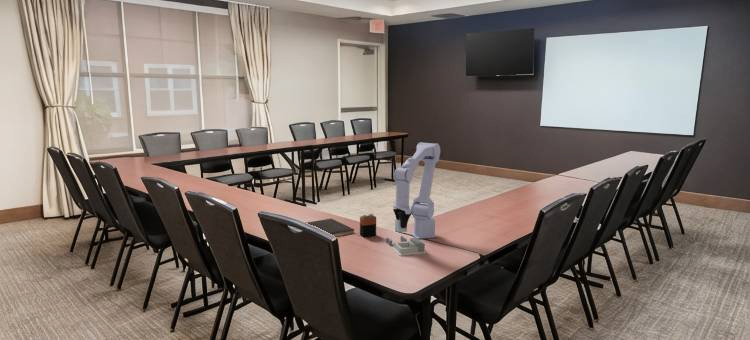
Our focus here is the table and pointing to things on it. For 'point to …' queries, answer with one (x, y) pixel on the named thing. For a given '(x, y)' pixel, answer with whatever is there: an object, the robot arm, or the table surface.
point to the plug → (399, 226)
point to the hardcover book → (332, 227)
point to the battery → (368, 225)
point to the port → (409, 247)
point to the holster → (391, 240)
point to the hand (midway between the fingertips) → (401, 226)
